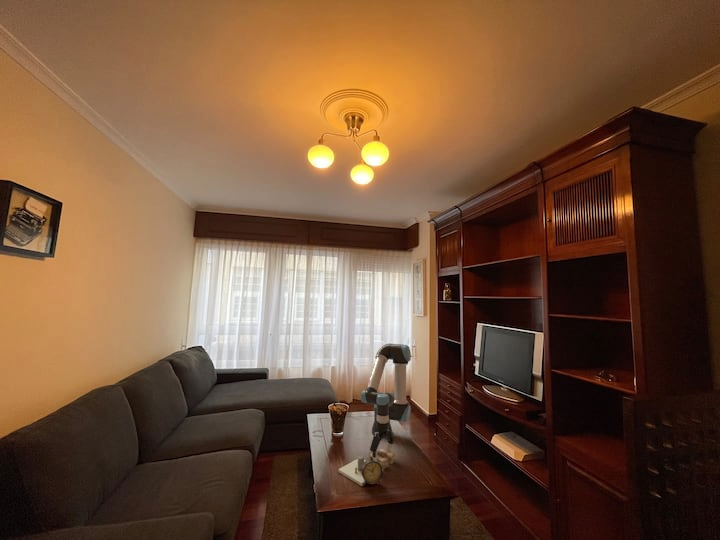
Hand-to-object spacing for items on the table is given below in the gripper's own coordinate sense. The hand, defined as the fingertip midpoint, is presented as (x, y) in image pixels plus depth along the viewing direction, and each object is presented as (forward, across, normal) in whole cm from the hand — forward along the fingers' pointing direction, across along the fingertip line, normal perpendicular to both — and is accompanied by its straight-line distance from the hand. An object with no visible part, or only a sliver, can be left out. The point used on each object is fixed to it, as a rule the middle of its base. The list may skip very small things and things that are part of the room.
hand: (382, 458), depth 173 cm
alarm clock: (+3, +20, +9) cm, 22 cm away
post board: (+2, +17, -2) cm, 17 cm away
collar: (+2, 0, 0) cm, 2 cm away
